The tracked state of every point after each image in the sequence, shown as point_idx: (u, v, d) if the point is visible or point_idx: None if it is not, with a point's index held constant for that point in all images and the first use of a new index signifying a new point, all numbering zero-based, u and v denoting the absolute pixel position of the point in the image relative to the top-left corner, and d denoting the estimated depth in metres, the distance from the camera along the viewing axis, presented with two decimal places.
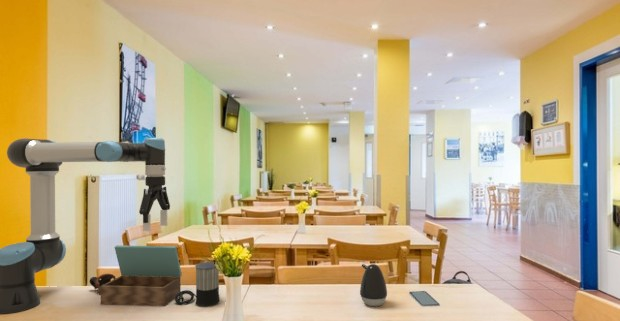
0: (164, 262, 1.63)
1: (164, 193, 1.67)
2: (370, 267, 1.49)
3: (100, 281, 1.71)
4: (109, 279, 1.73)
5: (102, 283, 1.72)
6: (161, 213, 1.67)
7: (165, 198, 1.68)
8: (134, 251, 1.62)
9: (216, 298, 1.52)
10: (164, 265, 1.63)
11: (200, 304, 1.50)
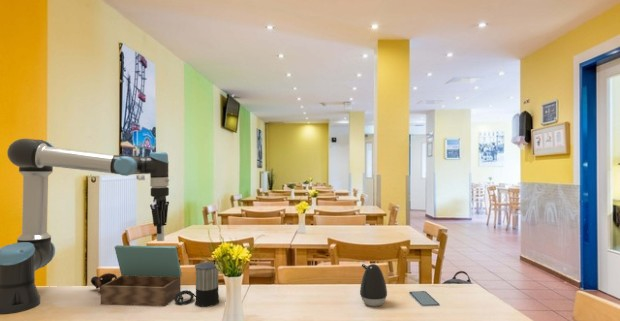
0: (164, 262, 1.63)
1: (166, 206, 1.78)
2: (370, 267, 1.49)
3: (101, 281, 1.71)
4: (110, 279, 1.73)
5: (103, 283, 1.72)
6: None
7: (165, 212, 1.77)
8: (134, 251, 1.62)
9: (216, 298, 1.52)
10: (164, 265, 1.63)
11: (200, 304, 1.50)
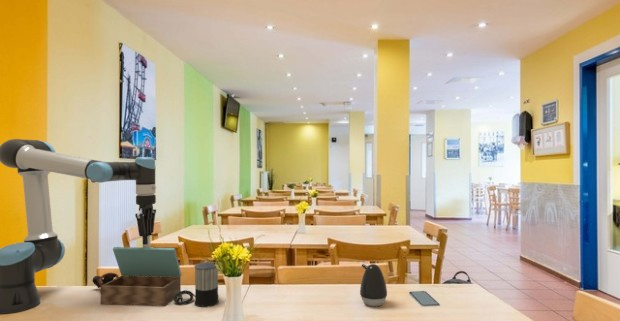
0: (163, 263, 1.62)
1: (152, 215, 1.67)
2: (370, 267, 1.49)
3: (103, 280, 1.72)
4: (112, 278, 1.74)
5: (105, 282, 1.73)
6: None
7: (151, 220, 1.66)
8: (133, 253, 1.61)
9: (215, 298, 1.52)
10: (163, 266, 1.63)
11: (199, 304, 1.50)
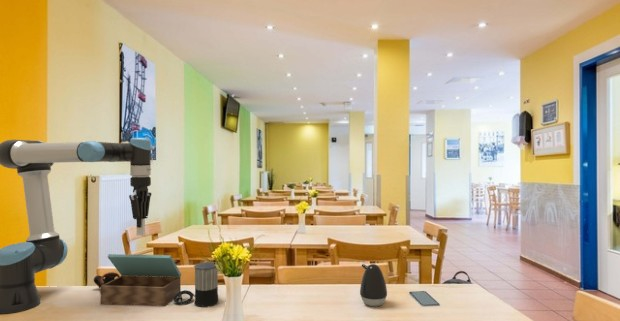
0: (161, 267, 1.60)
1: (147, 198, 1.63)
2: (370, 267, 1.49)
3: (104, 280, 1.73)
4: (113, 278, 1.75)
5: (106, 282, 1.74)
6: None
7: (146, 204, 1.62)
8: (128, 260, 1.58)
9: (215, 298, 1.52)
10: (161, 269, 1.61)
11: (199, 304, 1.50)
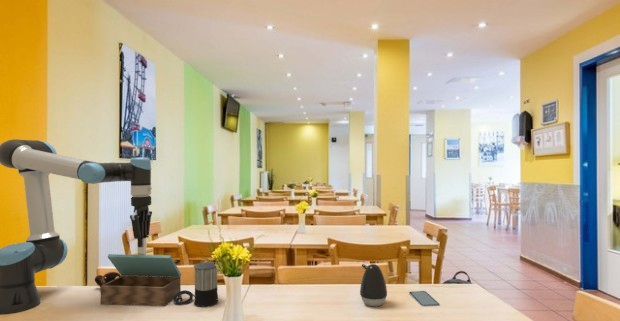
0: (161, 267, 1.60)
1: (148, 217, 1.63)
2: (370, 267, 1.49)
3: (105, 279, 1.73)
4: (114, 277, 1.75)
5: (107, 281, 1.74)
6: None
7: (147, 223, 1.62)
8: (128, 260, 1.58)
9: (215, 298, 1.52)
10: (161, 269, 1.61)
11: (199, 304, 1.50)
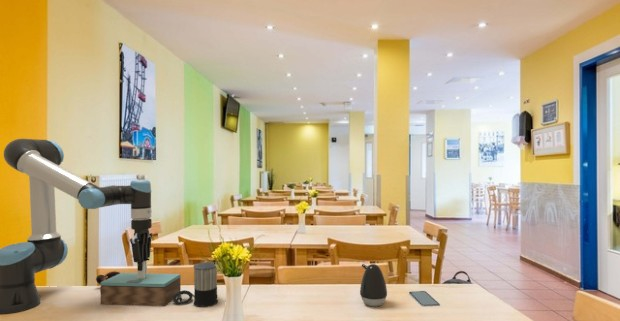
0: None
1: (149, 239, 1.63)
2: (370, 267, 1.49)
3: (106, 279, 1.74)
4: None
5: None
6: None
7: (148, 245, 1.62)
8: None
9: (214, 298, 1.52)
10: None
11: (198, 304, 1.50)
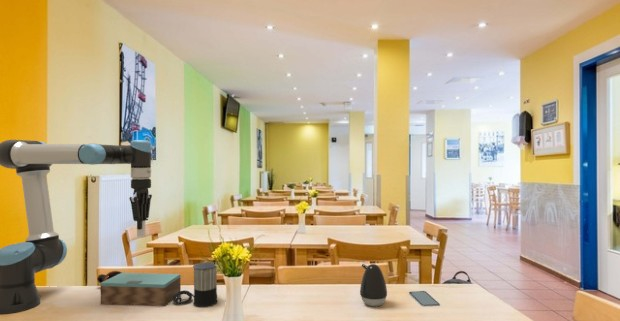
0: None
1: (148, 200, 1.64)
2: (370, 267, 1.49)
3: (108, 278, 1.75)
4: None
5: None
6: None
7: (147, 205, 1.63)
8: None
9: (214, 298, 1.52)
10: None
11: (198, 304, 1.49)
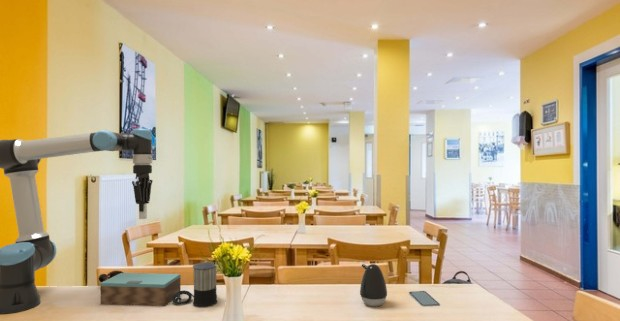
0: None
1: (149, 184, 1.75)
2: (370, 267, 1.49)
3: (109, 278, 1.75)
4: None
5: None
6: None
7: (148, 190, 1.75)
8: None
9: (214, 298, 1.52)
10: None
11: (197, 304, 1.49)
